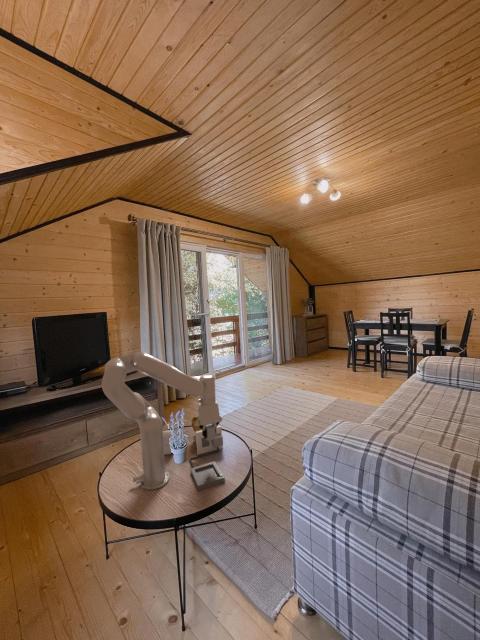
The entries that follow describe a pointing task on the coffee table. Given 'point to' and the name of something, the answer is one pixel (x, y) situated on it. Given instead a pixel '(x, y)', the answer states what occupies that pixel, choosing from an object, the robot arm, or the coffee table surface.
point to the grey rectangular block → (210, 432)
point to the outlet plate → (209, 442)
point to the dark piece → (202, 455)
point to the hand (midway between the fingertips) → (209, 435)
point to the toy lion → (195, 426)
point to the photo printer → (166, 442)
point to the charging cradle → (207, 475)
